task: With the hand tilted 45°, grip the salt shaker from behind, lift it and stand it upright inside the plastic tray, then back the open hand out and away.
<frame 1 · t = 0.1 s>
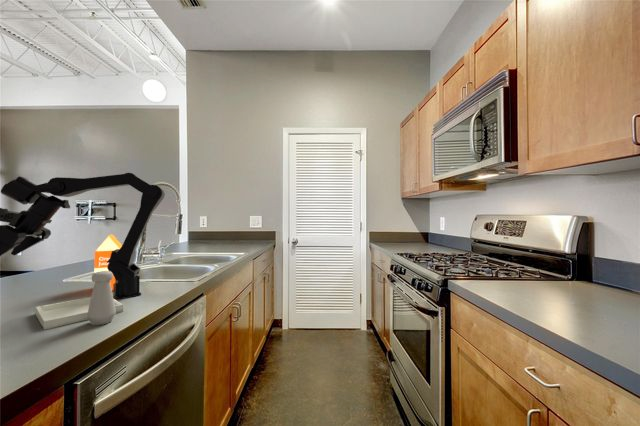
hand: (2, 256, 82), 15 cm above the counter, tool tilted 35°, fingers open, 9 cm apart
orange juice: (109, 288, 103), on the counter
salt shaker: (101, 323, 71), on the counter
tray: (79, 312, 77), on the counter
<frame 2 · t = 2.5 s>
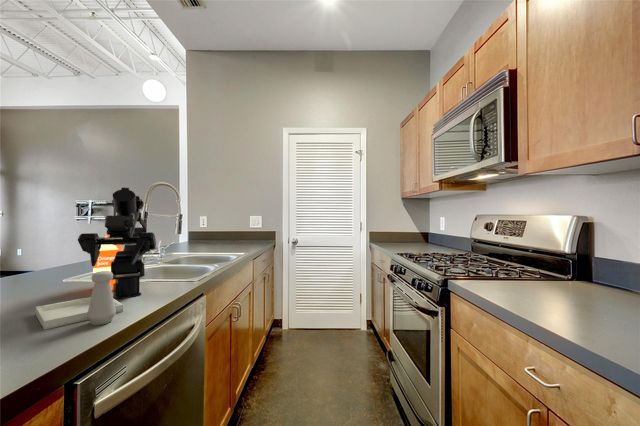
hand: (112, 264, 78), 13 cm above the counter, tool tilted 45°, fingers open, 9 cm apart
orange juice: (109, 288, 103), on the counter, touching arm
everything else where it was.
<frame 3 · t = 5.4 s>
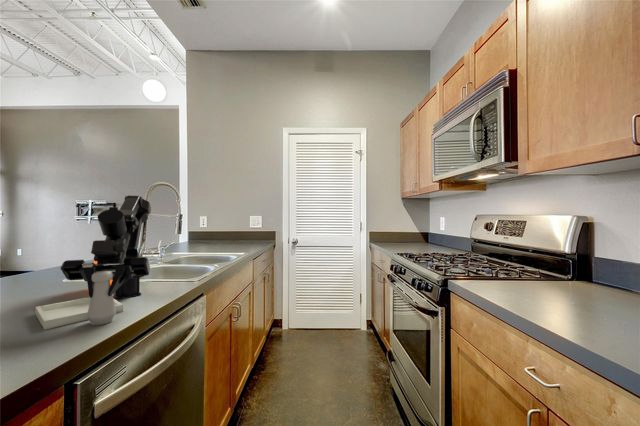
hand: (100, 296, 69), 7 cm above the counter, tool tilted 45°, fingers closed on salt shaker, 4 cm apart
orange juice: (110, 288, 103), on the counter
salt shaker: (101, 323, 71), on the counter, touching gripper
when the fingers open (9 cm above the counter, at t = 9.5 s): salt shaker stays where it is, resting on tray.
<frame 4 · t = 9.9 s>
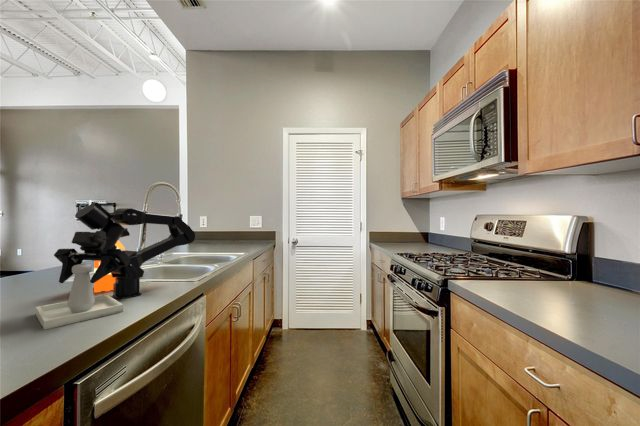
hand: (76, 282, 76), 9 cm above the counter, tool tilted 45°, fingers open, 8 cm apart
salt shaker: (81, 311, 77), resting on tray
everything else where it was.
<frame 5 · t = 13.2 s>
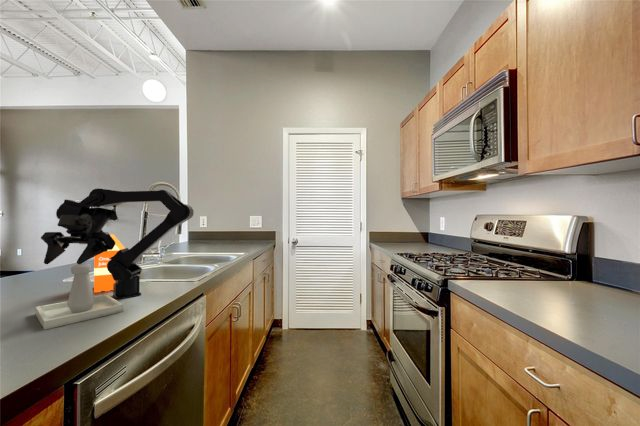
hand: (61, 263, 79), 14 cm above the counter, tool tilted 45°, fingers open, 9 cm apart
nothing on the counter moved.
at the end: salt shaker inside the target area on the tray (0.3 cm from its centre), point 0.4 cm above the tray's base; salt shaker tilted 1°; the gripper is holding nothing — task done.
